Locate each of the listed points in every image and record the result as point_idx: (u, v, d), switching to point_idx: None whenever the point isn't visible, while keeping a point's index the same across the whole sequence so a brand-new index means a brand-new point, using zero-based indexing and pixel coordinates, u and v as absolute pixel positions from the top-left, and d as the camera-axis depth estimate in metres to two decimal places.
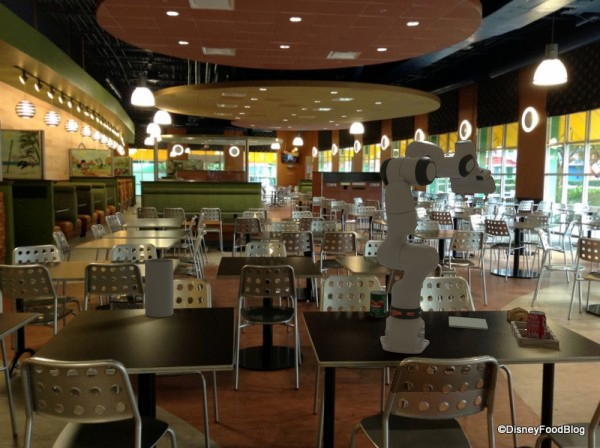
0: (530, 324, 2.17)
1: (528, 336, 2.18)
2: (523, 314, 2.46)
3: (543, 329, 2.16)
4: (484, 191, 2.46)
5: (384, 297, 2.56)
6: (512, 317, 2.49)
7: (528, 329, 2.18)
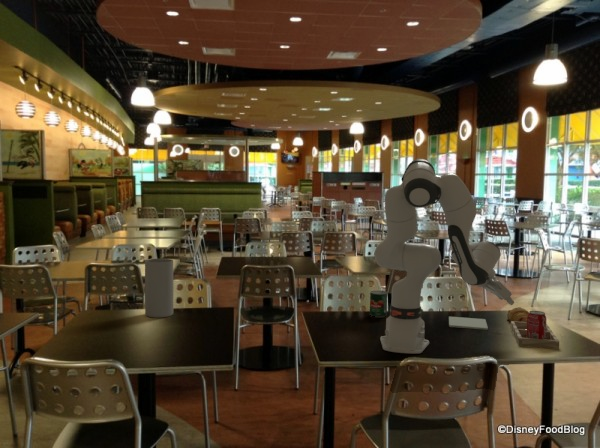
0: (530, 324, 2.17)
1: (528, 336, 2.18)
2: (523, 314, 2.46)
3: (543, 329, 2.16)
4: None
5: (384, 297, 2.56)
6: (512, 317, 2.49)
7: (528, 329, 2.18)
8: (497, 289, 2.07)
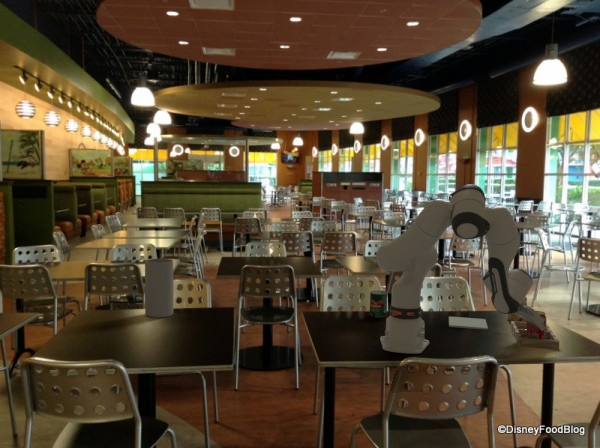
0: (530, 324, 2.17)
1: (528, 336, 2.18)
2: None
3: None
4: None
5: (384, 297, 2.56)
6: (512, 317, 2.49)
7: (528, 329, 2.18)
8: (530, 316, 2.09)
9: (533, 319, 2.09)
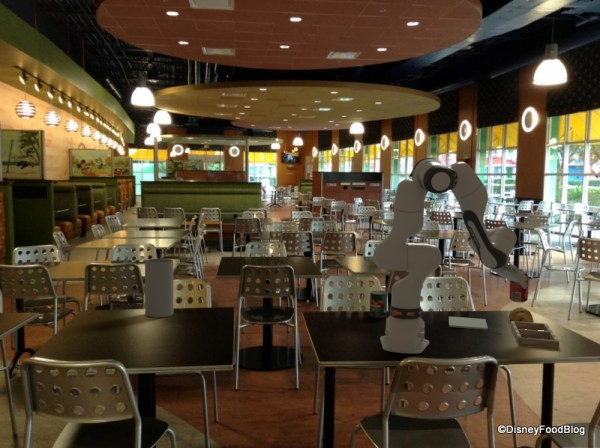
0: (513, 283, 2.24)
1: (511, 295, 2.25)
2: (524, 314, 2.46)
3: (526, 288, 2.22)
4: None
5: (384, 297, 2.56)
6: (513, 317, 2.49)
7: (511, 288, 2.25)
8: (513, 273, 2.15)
9: (516, 276, 2.14)
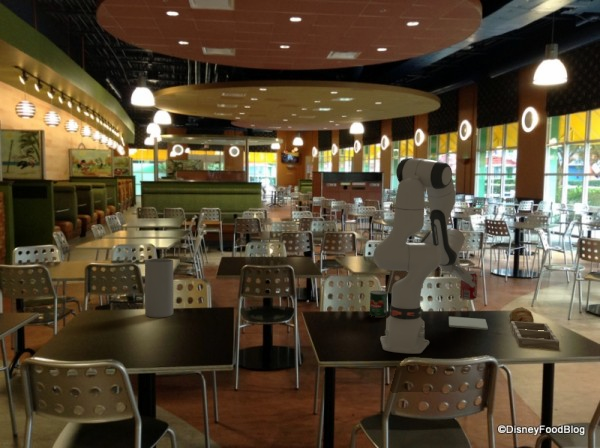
0: (463, 282, 2.44)
1: (461, 293, 2.45)
2: (524, 314, 2.46)
3: (474, 287, 2.43)
4: None
5: (384, 297, 2.56)
6: (513, 317, 2.49)
7: (461, 287, 2.45)
8: (460, 273, 2.35)
9: (463, 276, 2.35)
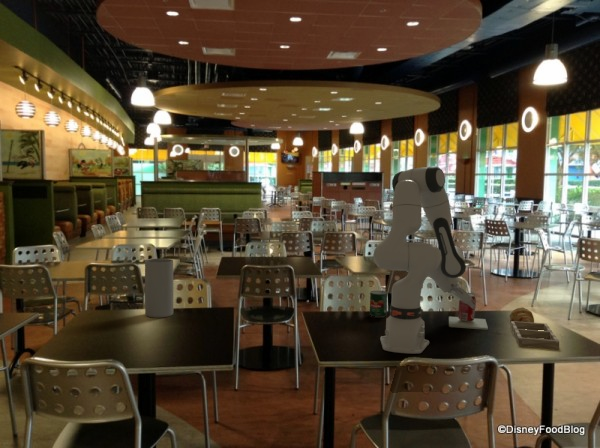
0: (461, 304, 2.46)
1: (459, 315, 2.47)
2: (524, 314, 2.46)
3: (472, 309, 2.44)
4: None
5: (384, 297, 2.56)
6: (513, 317, 2.49)
7: (459, 309, 2.47)
8: (459, 294, 2.36)
9: (462, 297, 2.35)
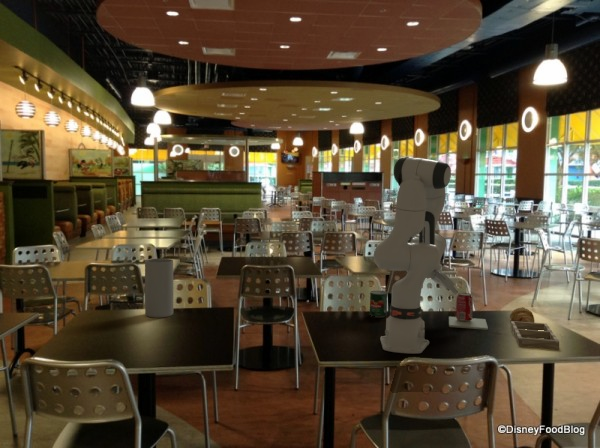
0: (458, 304, 2.47)
1: (457, 315, 2.48)
2: (524, 314, 2.46)
3: (469, 308, 2.45)
4: None
5: (384, 297, 2.56)
6: (513, 317, 2.49)
7: (457, 308, 2.48)
8: (442, 280, 2.34)
9: (445, 282, 2.34)
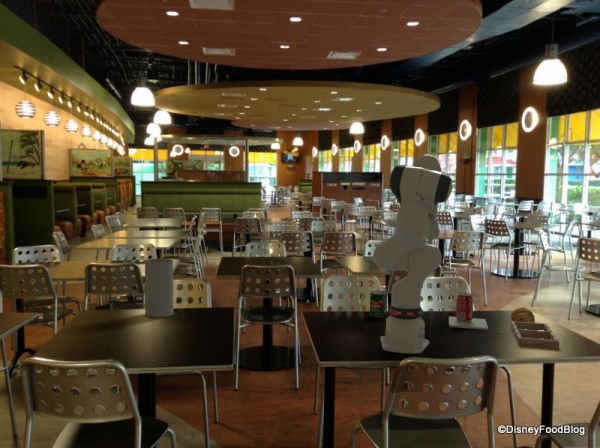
0: (458, 304, 2.47)
1: (457, 315, 2.48)
2: (524, 314, 2.46)
3: (469, 309, 2.45)
4: None
5: (384, 297, 2.56)
6: (514, 317, 2.49)
7: (457, 309, 2.48)
8: (431, 223, 2.34)
9: (431, 227, 2.33)
